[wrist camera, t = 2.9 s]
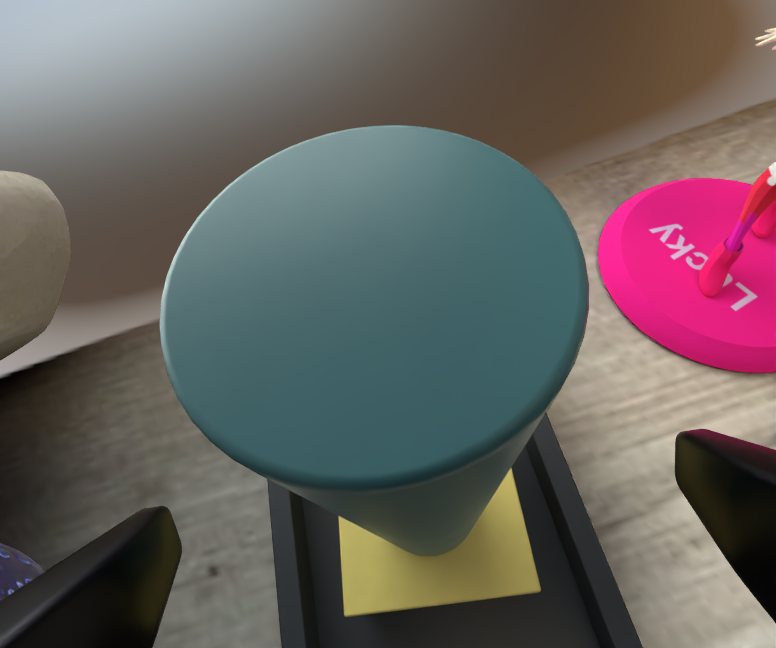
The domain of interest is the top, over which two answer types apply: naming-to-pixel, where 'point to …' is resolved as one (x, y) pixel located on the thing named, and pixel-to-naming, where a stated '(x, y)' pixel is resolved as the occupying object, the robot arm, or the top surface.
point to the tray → (466, 619)
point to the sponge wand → (384, 348)
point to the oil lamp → (29, 258)
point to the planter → (15, 570)
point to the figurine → (699, 267)
